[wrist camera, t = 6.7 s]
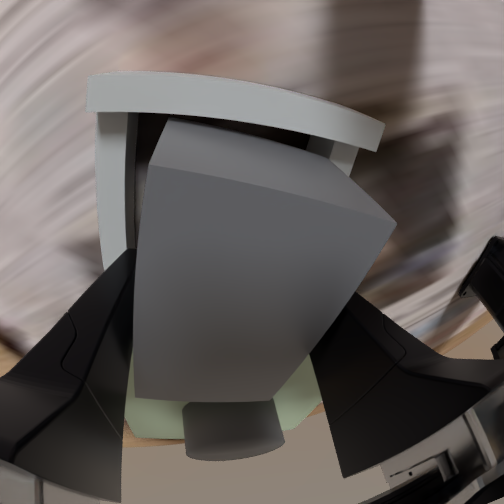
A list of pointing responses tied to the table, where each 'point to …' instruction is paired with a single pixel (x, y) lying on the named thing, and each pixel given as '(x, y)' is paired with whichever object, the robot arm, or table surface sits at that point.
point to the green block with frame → (123, 231)
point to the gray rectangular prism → (242, 262)
